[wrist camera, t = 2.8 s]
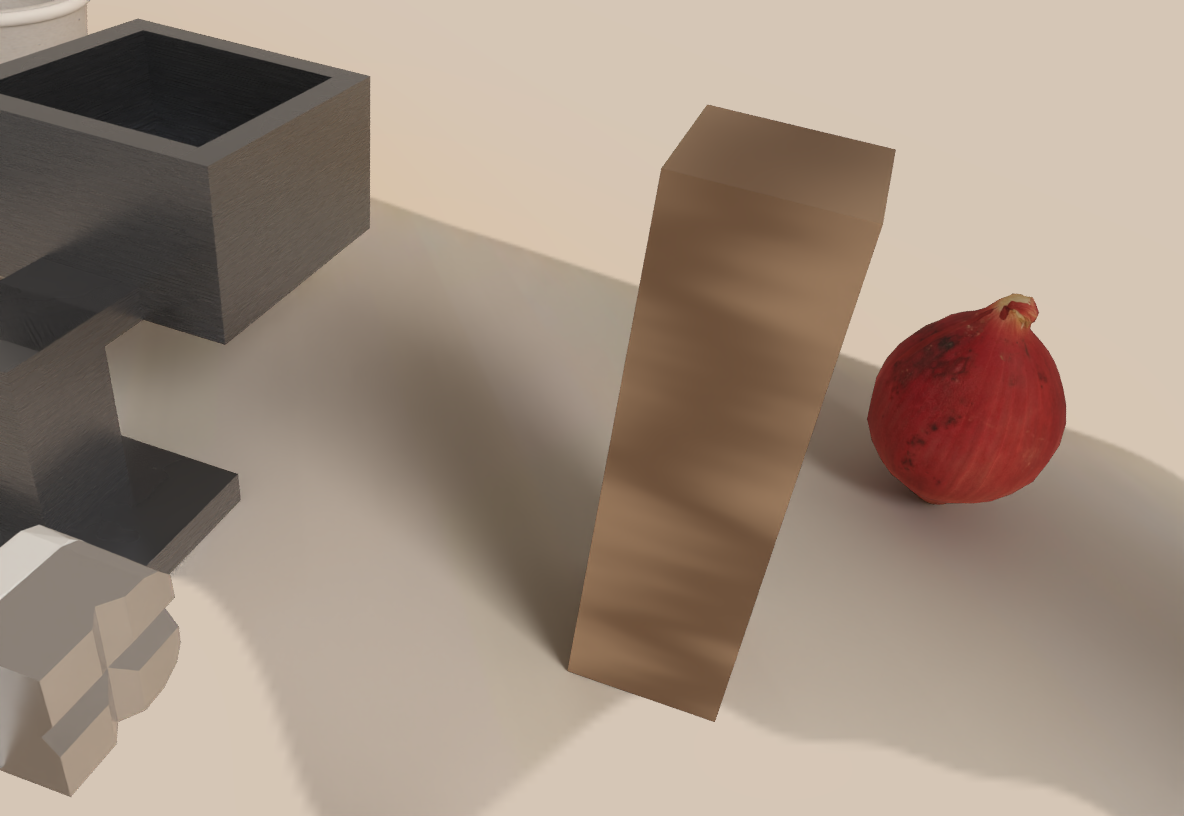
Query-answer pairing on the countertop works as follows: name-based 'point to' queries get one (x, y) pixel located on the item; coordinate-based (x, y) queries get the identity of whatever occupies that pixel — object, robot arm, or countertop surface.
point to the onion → (969, 405)
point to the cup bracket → (152, 253)
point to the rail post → (721, 394)
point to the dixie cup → (39, 26)
